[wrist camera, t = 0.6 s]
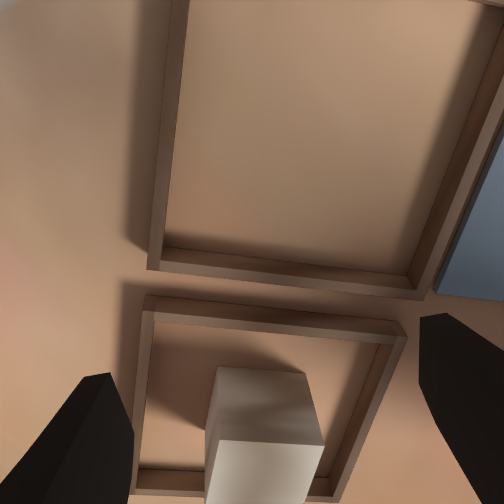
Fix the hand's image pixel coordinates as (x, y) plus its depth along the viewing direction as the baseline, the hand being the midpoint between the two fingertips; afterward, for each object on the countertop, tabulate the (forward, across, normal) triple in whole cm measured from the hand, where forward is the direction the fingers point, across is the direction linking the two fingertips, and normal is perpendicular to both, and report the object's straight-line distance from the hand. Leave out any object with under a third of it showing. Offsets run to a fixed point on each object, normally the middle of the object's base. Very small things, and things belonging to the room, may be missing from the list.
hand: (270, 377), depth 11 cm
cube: (+10, +1, +11) cm, 14 cm away
